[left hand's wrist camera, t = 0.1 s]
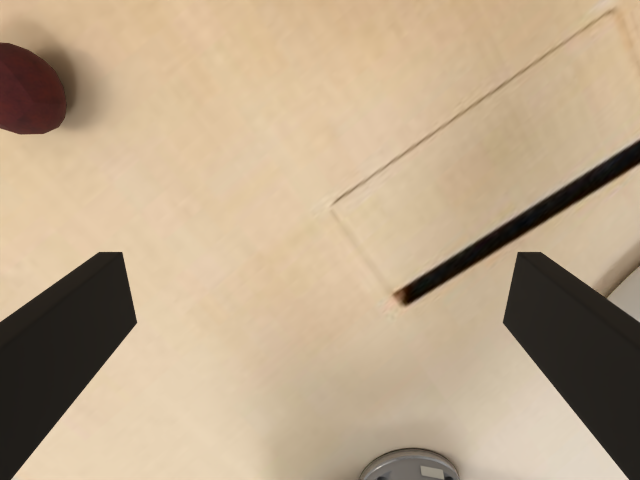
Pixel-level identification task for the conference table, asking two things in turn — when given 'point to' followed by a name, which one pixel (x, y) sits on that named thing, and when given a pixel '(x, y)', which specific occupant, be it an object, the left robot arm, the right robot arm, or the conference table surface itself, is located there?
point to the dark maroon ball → (29, 92)
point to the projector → (628, 295)
